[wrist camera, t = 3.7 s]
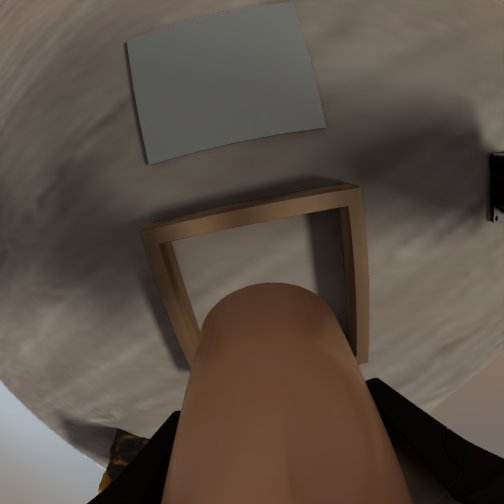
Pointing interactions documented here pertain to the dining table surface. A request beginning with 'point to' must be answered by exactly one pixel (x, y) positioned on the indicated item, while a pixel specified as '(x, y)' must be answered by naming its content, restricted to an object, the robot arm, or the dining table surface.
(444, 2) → the dining table surface
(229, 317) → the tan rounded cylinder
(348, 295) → the wooden picture frame
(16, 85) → the dining table surface
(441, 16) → the dining table surface
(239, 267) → the dining table surface
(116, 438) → the candle
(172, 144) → the pad
